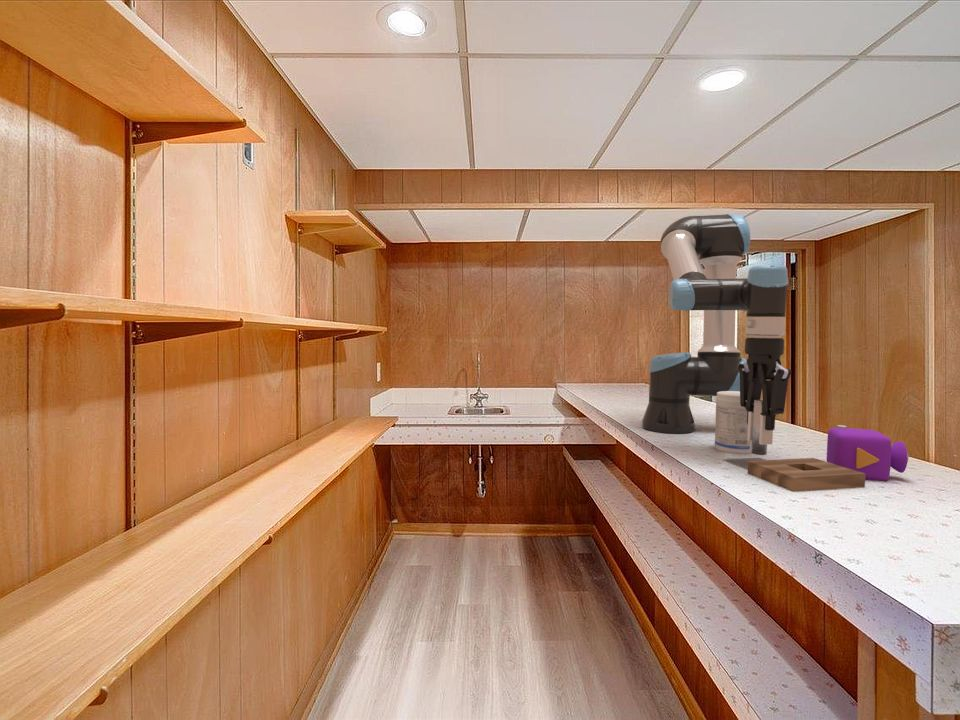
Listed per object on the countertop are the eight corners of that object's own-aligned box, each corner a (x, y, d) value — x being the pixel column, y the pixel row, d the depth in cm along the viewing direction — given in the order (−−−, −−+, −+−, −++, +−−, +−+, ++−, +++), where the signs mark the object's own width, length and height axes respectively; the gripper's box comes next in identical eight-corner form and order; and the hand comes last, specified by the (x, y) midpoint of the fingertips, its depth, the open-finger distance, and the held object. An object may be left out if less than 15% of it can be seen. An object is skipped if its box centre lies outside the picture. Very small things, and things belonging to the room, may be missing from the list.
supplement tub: (728, 445, 134) (730, 389, 133) (764, 452, 126) (767, 394, 125) (706, 449, 129) (708, 392, 128) (742, 457, 121) (744, 396, 120)
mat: (721, 461, 117) (721, 459, 117) (759, 459, 119) (759, 457, 119) (759, 476, 106) (759, 474, 106) (800, 473, 108) (800, 471, 108)
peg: (748, 451, 114) (750, 399, 113) (759, 451, 115) (762, 398, 114) (758, 455, 111) (760, 401, 110) (769, 454, 112) (772, 401, 111)
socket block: (747, 475, 106) (748, 461, 106) (812, 471, 109) (813, 457, 109) (793, 493, 94) (794, 477, 94) (864, 488, 98) (865, 473, 97)
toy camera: (919, 486, 100) (922, 436, 99) (841, 481, 102) (844, 432, 102) (887, 471, 110) (889, 425, 110) (817, 467, 113) (819, 423, 112)
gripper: (725, 335, 118) (720, 434, 120) (777, 338, 102) (772, 452, 104) (753, 335, 119) (748, 433, 121) (809, 338, 104) (803, 450, 106)
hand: (759, 441), depth 113 cm, fingers closed on peg, 3 cm apart
